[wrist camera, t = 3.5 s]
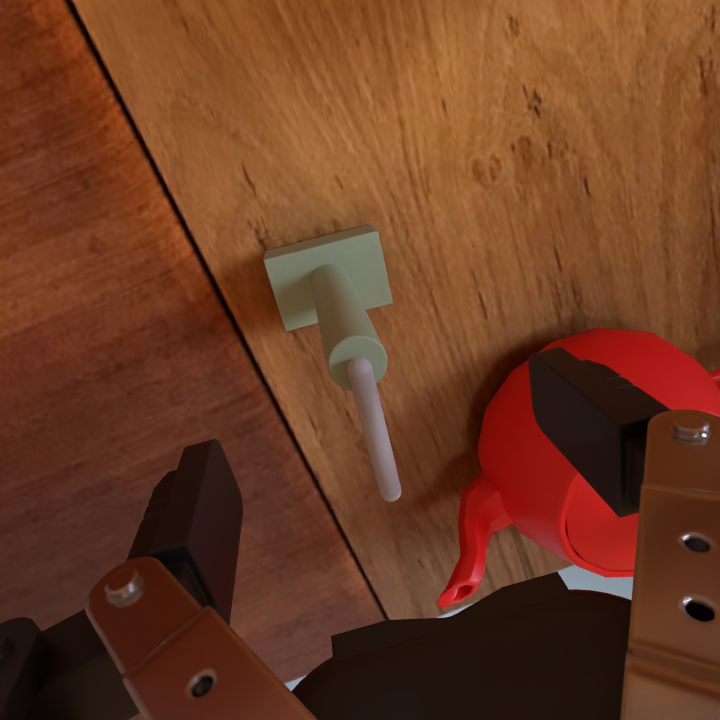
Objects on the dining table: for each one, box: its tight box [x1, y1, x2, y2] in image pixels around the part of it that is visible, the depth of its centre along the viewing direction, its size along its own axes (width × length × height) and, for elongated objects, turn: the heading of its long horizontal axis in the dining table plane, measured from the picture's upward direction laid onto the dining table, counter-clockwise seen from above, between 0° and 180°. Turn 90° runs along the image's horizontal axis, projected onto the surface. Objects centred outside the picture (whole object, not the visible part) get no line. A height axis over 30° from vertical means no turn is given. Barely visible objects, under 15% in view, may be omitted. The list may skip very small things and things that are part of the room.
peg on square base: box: [263, 224, 401, 502], centre depth 23 cm, size 6×7×15 cm
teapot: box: [437, 328, 720, 607], centre depth 30 cm, size 25×16×12 cm, turn 117°
